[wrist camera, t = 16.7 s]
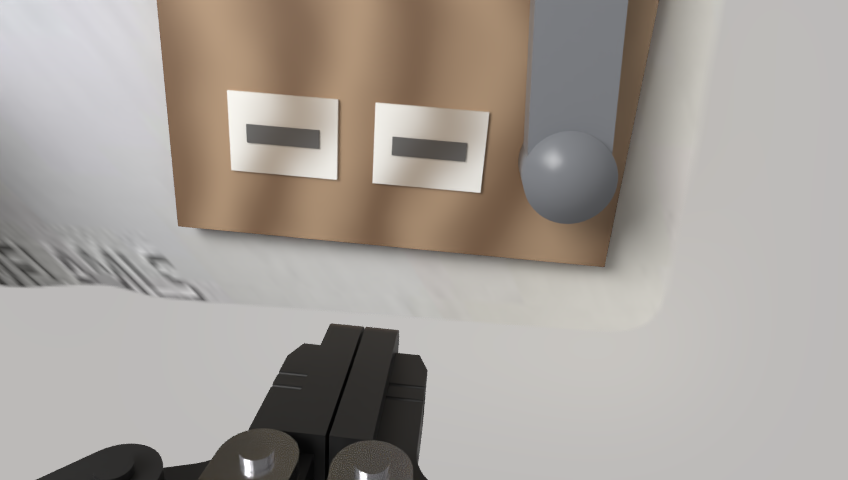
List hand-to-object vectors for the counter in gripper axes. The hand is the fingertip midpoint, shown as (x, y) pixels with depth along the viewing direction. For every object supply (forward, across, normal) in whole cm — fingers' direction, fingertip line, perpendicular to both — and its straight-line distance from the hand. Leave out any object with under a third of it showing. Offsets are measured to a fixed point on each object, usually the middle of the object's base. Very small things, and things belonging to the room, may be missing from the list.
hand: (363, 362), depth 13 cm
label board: (+22, +2, -2) cm, 22 cm away
